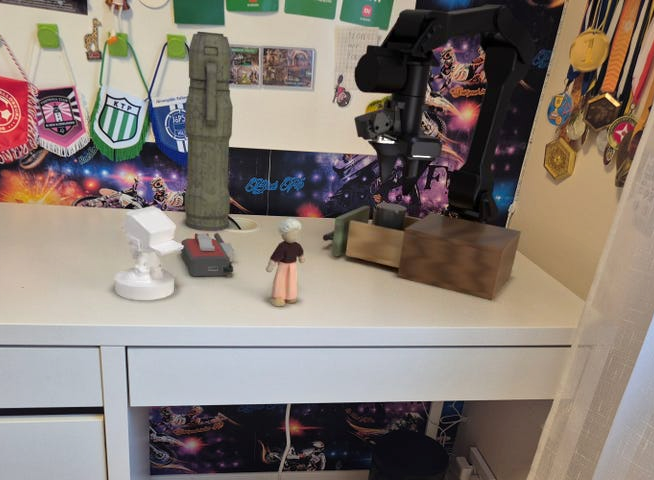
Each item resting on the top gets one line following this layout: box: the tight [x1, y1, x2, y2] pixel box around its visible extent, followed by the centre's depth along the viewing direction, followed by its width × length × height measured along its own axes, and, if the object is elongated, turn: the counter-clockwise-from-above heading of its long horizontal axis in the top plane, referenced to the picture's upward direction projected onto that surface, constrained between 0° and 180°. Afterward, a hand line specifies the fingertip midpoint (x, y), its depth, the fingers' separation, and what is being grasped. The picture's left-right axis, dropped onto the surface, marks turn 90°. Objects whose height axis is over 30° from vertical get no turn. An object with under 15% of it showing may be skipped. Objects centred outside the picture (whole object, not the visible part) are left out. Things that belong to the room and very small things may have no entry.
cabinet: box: [397, 212, 522, 301], centre depth 112 cm, size 17×15×9 cm
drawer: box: [322, 205, 422, 269], centre depth 118 cm, size 19×13×7 cm
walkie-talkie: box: [180, 232, 235, 278], centre depth 110 cm, size 9×4×20 cm
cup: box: [374, 202, 407, 231], centre depth 117 cm, size 5×5×8 cm
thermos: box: [184, 31, 234, 231], centre depth 123 cm, size 9×12×35 cm
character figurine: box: [114, 205, 184, 301], centre depth 93 cm, size 9×10×12 cm
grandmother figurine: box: [265, 217, 306, 307], centre depth 94 cm, size 8×4×13 cm, turn 148°
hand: (393, 189), depth 114 cm, fingers open, 9 cm apart
